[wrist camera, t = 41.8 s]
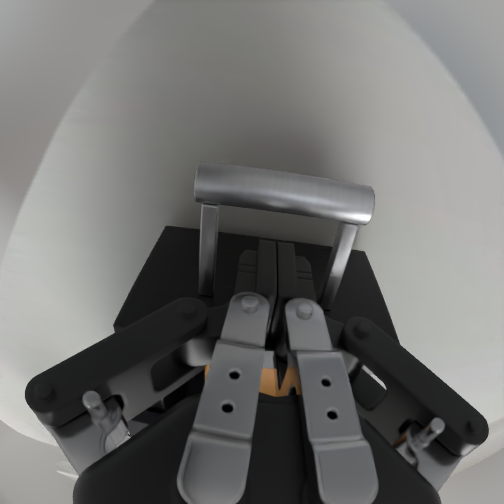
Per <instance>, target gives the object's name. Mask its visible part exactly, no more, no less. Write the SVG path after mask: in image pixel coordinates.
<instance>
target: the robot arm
mask: <svg viewBox="0 0 504 504" xmlns="http://www.w3.org/2000/svg"><path fill="white" fill-rule="evenodd" d="M268 333H269V340H272V341H275V350H274V354H273V365H274V378H275V390H276V397H275V396H271V395H268V394H264V393H261V392H259V389H260V382H261V375H262V368H263V361H264V353H265V347H264V345H265V340H267V338H268ZM206 365H210V366H209V370H208V373H207V377H206V381H205V384H204V388H203V391H202V393H199V394H196V395H192V396H190V397H187V398H185V399H183V400H181V401H180V402H178V403H177V404H175V405H174V406H173V407H171V408H170V409H169V410H167V411H166V412H165V413H163V414H162V415H161V416H159V417H158V418H157V419H155V420H154V421H153V422H151V423H150V424H149V425H147V426H146V427H144V428H143V429H142V430H140V431H139V432H138V433H136V434H135V435H133V436H132V437H131V438H129V439H128V440H126V441H125V442H124V443H122V444H121V445H119V446H118V447H116V446H117V445H118V444H119V443H120V442H121V441H122V440H123V439H124V438H125V437H126V435H127V432H128V424H127V421H129V420H131V419H132V418H134V417H135V416H137V415H138V414H140V413H141V412H143V411H144V410H146V409H147V408H149V407H150V406H152V405H153V404H155V403H156V402H158V401H159V400H161V399H162V398H164V397H165V396H167V395H168V394H169V393H171V392H172V391H174V390H175V389H177V388H178V387H180V386H181V385H182V384H184V383H185V382H187V381H188V380H190V379H191V378H192V377H194V376H195V375H197V374H198V373H199V372H201V371H202V370H203V369H204V368H205V367H206ZM364 365H365V366H366V367H367V368H368V369H369V370H370V371H371V372H372V373H373V374H375V375H376V376H377V377H378V378H379V379H380V380H381V381H382V382H383V383H384V384H385V386H386V389H387V390H386V389H384V388H383V387H382V386H381V385H380V384H379V383H378V382H377V381H376V380H375V379H373V378H372V377H371V376H370V375H369V374H368V373H367V372H366V371H365V370H364V369H363V367H364ZM25 399H26V402H27V404H28V405H29V407H30V408H31V409H32V410H33V412H34V413H35V414H36V416H37V418H38V419H39V421H40V422H41V423H42V424H43V425H44V427H45V428H46V429H47V430H48V431H49V432H50V433H51V434H52V436H54V438H55V440H56V441H57V443H58V445H59V446H60V448H61V449H62V451H63V452H64V454H65V456H66V457H67V458H68V460H69V462H70V463H71V465H72V466H73V468H74V469H75V471H76V472H77V473H78V475H79V477H78V479H77V481H76V483H75V486H74V491H73V504H441V500H440V497H439V494H438V491H439V490H440V488H441V487H442V486H443V484H444V483H445V482H446V480H447V479H448V478H449V476H450V475H451V473H452V472H453V470H454V469H455V468H456V466H457V465H458V463H459V462H460V460H461V459H462V458H463V457H465V456H466V455H468V454H469V453H470V452H472V451H473V450H474V449H476V448H477V447H478V446H479V445H481V444H482V443H483V442H484V441H485V440H486V439H487V437H488V433H489V428H488V424H487V421H486V419H485V418H484V417H483V416H482V415H481V414H480V413H479V412H478V411H477V410H476V409H475V408H474V407H472V406H471V405H470V404H469V403H468V402H467V401H465V400H464V399H463V398H462V397H461V396H460V395H459V394H457V393H456V392H455V391H454V390H453V389H452V388H450V387H449V386H448V385H447V384H446V383H445V382H443V381H442V380H441V379H440V378H439V377H438V376H436V375H435V374H434V373H433V372H432V371H431V370H429V369H428V368H427V367H426V366H425V365H424V364H422V363H421V362H420V361H419V360H418V359H416V358H415V357H414V356H413V355H412V354H410V353H409V352H408V351H407V350H406V349H405V348H403V347H402V346H401V345H400V344H399V343H397V342H396V341H395V340H394V339H393V338H391V337H390V336H389V335H388V334H387V333H385V332H384V331H383V330H382V329H381V328H379V327H378V326H377V325H376V324H375V323H373V322H372V321H370V320H369V319H366V318H363V317H351V318H349V319H348V320H347V321H346V322H345V324H344V323H341V322H338V321H335V320H333V319H330V318H328V317H327V316H325V315H324V313H323V310H322V308H321V307H320V306H319V305H318V304H317V303H316V297H315V290H314V284H313V278H312V271H311V265H310V263H309V262H308V261H307V259H306V258H305V257H302V256H295V248H294V244H290V243H283V242H277V244H276V242H274V241H267V240H259V244H258V251H254V250H245V251H244V252H243V253H242V254H241V255H240V258H239V264H238V271H237V277H236V284H235V290H234V296H233V297H232V299H231V300H230V301H229V302H228V303H226V304H225V305H222V306H219V307H211V308H208V307H207V306H206V304H205V303H204V302H202V301H201V300H199V299H196V298H192V297H183V298H179V299H177V300H174V301H173V302H171V303H169V304H167V305H165V306H164V307H162V308H160V309H158V310H156V311H154V312H153V313H151V314H149V315H147V316H145V317H143V318H142V319H140V320H138V321H136V322H134V323H132V324H131V325H129V326H127V327H125V328H123V329H121V330H120V331H118V332H116V333H114V334H112V335H110V336H109V337H107V338H105V339H103V340H101V341H99V342H98V343H96V344H94V345H92V346H90V347H88V348H87V349H85V350H83V351H81V352H79V353H77V354H76V355H74V356H72V357H70V358H68V359H66V360H64V361H63V362H61V363H59V364H57V365H55V366H53V367H52V368H50V369H48V370H46V371H44V372H42V373H40V374H39V375H37V376H35V377H34V378H32V379H31V380H30V382H29V383H28V385H27V387H26V390H25Z"/></svg>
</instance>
